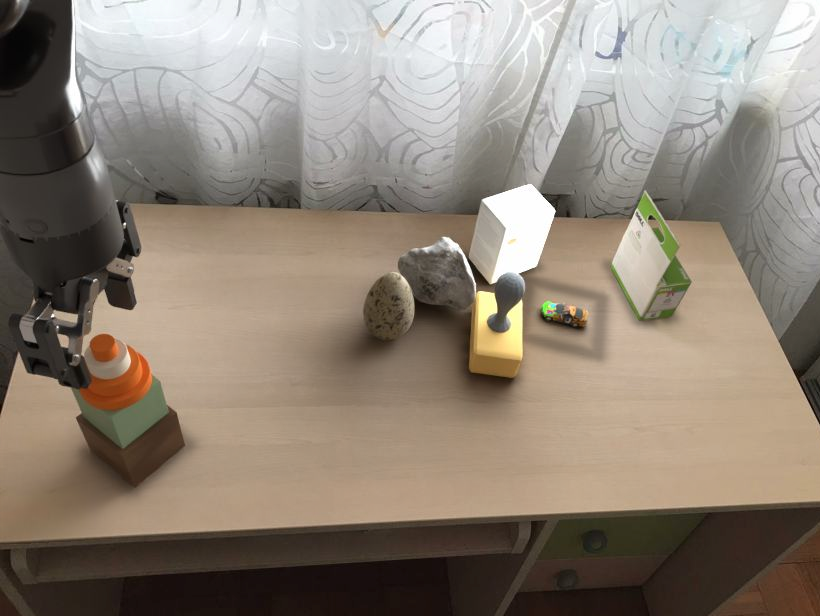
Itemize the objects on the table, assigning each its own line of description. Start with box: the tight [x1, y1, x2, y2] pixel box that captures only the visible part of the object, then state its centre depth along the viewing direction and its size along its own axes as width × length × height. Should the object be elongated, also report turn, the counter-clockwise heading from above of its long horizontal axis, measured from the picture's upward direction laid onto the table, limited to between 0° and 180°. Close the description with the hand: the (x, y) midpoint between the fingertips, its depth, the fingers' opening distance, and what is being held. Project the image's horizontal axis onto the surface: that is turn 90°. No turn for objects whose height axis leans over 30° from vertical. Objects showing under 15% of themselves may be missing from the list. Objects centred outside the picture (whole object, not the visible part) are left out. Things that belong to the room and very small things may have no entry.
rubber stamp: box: [468, 272, 526, 379], centre depth 88 cm, size 10×6×12 cm, turn 177°
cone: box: [79, 333, 153, 410], centre depth 65 cm, size 6×6×6 cm
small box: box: [468, 183, 556, 285], centre depth 97 cm, size 8×6×10 cm
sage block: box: [70, 373, 169, 449], centre depth 69 cm, size 5×5×5 cm
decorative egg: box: [362, 271, 415, 341], centre depth 87 cm, size 6×6×10 cm
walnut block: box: [75, 404, 186, 489], centre depth 74 cm, size 6×6×6 cm
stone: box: [397, 236, 477, 311], centre depth 91 cm, size 9×7×10 cm
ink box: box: [609, 189, 693, 321], centre depth 96 cm, size 10×5×14 cm, turn 16°
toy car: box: [540, 301, 588, 329], centre depth 96 cm, size 3×6×2 cm, turn 80°
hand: (101, 343), depth 62 cm, fingers open, 8 cm apart
